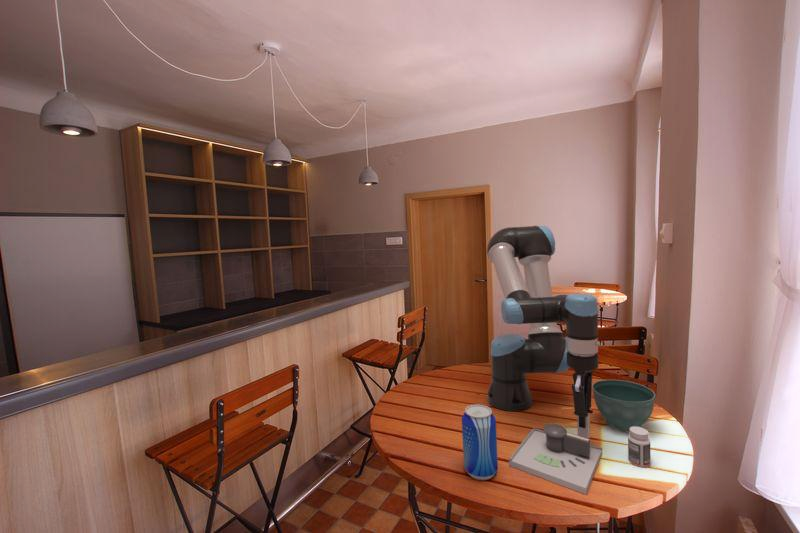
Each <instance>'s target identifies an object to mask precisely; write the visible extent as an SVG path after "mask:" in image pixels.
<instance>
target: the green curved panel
mask: <svg viewBox="0 0 800 533" xmlns="http://www.w3.org/2000/svg"><path fill="white" fill-rule="evenodd" d="M579 456H581V457H584V458H587V459H589V458H590V457H586V456H583V455H579ZM534 459H535V460H537V461H539V462H541V461H542V462H541V463H543V464H546V465H550V464H551V466H553V467H558V468H559V460H558V459H553V458H550V457H547V456H545V455H543V454H541V453H540V454H539V455H537V456H536V457H534ZM575 459H576V460H577V461H579V462H581V463H583V464H585V462H584V461H582V460H580V459H578V458H575ZM568 461H569V462H570V463H571V464H572V465H573V466H574V467H577V465H576V464H574V463H573V462H572V461H571V460H568ZM560 462H561V464H562V466H563V467H566V466H565V464H564V462H563V461H561V460H560Z"/></svg>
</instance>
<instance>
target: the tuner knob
mask: <svg viewBox="0 0 800 533" xmlns="http://www.w3.org/2000/svg"><path fill="white" fill-rule="evenodd" d="M543 431H544V433H545V434H546V447H547V448H548V449H549V450H551V451H553V452H563V451H564V450H567V451H570V452H573V453H576V454H579V455H583V456H586V457H589V456H590V445H591V439H590V438H589V439H586V438H582V437H579V436H578V435H576V434H575V435H574V434H572V433H568V429H567V428H566V427H564V426H563V425H560V424H557V423H546V424H545V425H544V426H543Z"/></svg>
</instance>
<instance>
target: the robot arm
mask: <svg viewBox="0 0 800 533" xmlns="http://www.w3.org/2000/svg"><path fill="white" fill-rule="evenodd" d="M554 236H555V235H554V234H553V232H552V230H551V229H550V228H549V227H548V226H546V225H533V226H532V225H531V226H530V225H529V226H515V227H512V226H511V227H504V228H502V229H500V230H497V232H495V233H494V234H493V235H492V236H491V237H490V238H489V242H488V243H487V247H486V254H487V257H488V260H489V261H490V262H491V263H492V264H493V266H494V269H495V272H496V277H497V279H498V281H499V284H500V288H501V291H502V294H503V296H504V297H503V298H504V299H502V300H501V304H500V309H501V310H500V312H501V318H502V321H503V322H504V323H506V324H509V325H511V324H513V325H524V324H525V325H526V324H530V325H531V326H530V328H531V330H530V331H529V332H528V333H527V334H528V335H527V338H526V337H525V336H524V335H522V334H518V333H516V334H515V333H508V334H502V335H499V336H497V337H495V338H493V340H492V341H491V343H490V351H489V352H490V353H489V354H490V360H491V361H490V362H491V364H490V365H491V381H490V385H489V389H488V391H487V402H488V404H489V405H490V406H492V407H493V408H496V409H498V410H502V411H507V412H521V411H525V410H528V409H529V408H531V406H532V405H533V396H532V393H531V391H530V388H529V386H528V383H527V374H542V373H543V374H549V373H550V374H551V373H553V374H557V373H564V372H567V371H568V370H569V369H573V370H574V373H573V374H572V380H573V383H571V391H572V395H573V396H572V397H573V406H574V411H573V414H574V415H575V416H576V419H577V421H576V422H577V424H576V425H577V431H576V432H577V436H579V437H582V438H586V439H589V440H590V436H591V432H590V428H591V426H590V414H594V413H593V409H592V410H591V408H592V393H593V390H592V385H593V374H594V373H593V371H595V370H597V369H598V368H599V354H597V353H598V352H599V346H601V342H600V341H598V340H599V339H598V337H599V336H598V333H599V332H598V331H599V330H598V329H599V325H598V324H599V322H598V321H599V319H598V318H599V314H598V313H599V308H598V300H597V297H596V296H595V295H593V294H588V293H570V294H562V293H559V294H555V295H554V296H553V291H552V285H551V276H550V271H549V262H550V261H551V260H552V256H553V255H554V254H555V252H556V241H555V237H554ZM516 258H517V260H518V263H519V264H520V265H521V266H522V267H523V271H524V273H523V274H524V277H523V275H522V272H521V270H520V267H519V265H518V263H517V260H516ZM558 323H564V324H565V332H566V334H565V336H566V337H564V333H563V331H562V330H560V329H559V328H558Z"/></svg>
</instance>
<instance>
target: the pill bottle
mask: <svg viewBox="0 0 800 533" xmlns="http://www.w3.org/2000/svg"><path fill="white" fill-rule="evenodd" d="M628 433H629V434H628V436H627V449H628V450H627V452H628V454H627V458H628V461H629V462H630V463H631V464H632V465H635V466H637V467H640V468H647V467H650V466H651V462H652V460H651V440H650V438H649V431H648V430H647V429H646V428H643V427H642V428H641V427H636V426H633V427H630V430H629V432H628Z"/></svg>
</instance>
